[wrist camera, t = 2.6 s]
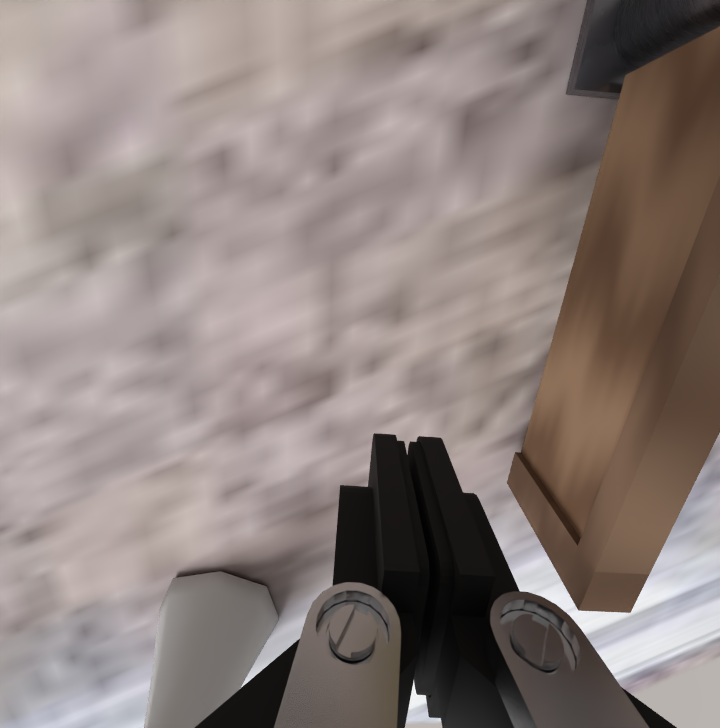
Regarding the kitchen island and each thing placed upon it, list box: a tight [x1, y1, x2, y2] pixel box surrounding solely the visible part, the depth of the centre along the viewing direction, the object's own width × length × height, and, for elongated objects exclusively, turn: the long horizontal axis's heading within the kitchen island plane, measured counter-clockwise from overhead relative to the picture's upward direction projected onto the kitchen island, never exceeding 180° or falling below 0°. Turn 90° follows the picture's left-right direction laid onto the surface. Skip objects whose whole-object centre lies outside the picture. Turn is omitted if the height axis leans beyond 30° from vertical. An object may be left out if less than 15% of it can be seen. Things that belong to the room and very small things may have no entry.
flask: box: [144, 571, 279, 728], centre depth 19 cm, size 7×7×10 cm
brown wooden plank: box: [507, 27, 720, 613], centre depth 13 cm, size 17×2×6 cm, turn 176°
